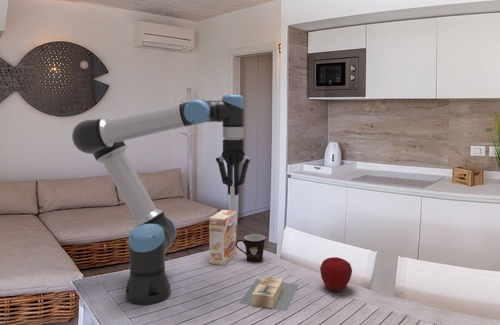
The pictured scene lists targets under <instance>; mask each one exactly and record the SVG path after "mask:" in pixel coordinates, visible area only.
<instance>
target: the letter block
mask: <svg viewBox="0 0 500 325" xmlns="http://www.w3.org/2000/svg"><path fill="white" fill-rule="evenodd" d="M260 280H261V281H260V283H259V284H258V286H257V287H256V289H255V290H254V291H253V293H252V305H251V306H255V307H261V308H266V309H272V310H274V309H273V307H274V305H275V304H276V302H277V300H278V298H279V296H280V295H281V293H282V291H283V283H284V279H282V278H275V277H268V276H263V277H262V279H260Z"/></svg>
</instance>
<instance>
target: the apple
mask: <svg viewBox="0 0 500 325" xmlns="http://www.w3.org/2000/svg"><path fill="white" fill-rule="evenodd" d="M319 270H320V276H321V280H322V281H323V284H324V286H326V287H327V288H328V289H329V290H331V291H333V292H334V291H335V292H340V291H342V290H344V289H346V288H347V286H348V284H349V282H350V280H351V279H352V278H351V277H352V274H353V270H352V266H351V263H350V262H348V261H347V260H345V259H344V258H341V257H338V256H336V257H335V256H334V257H327V258H325V259H324V260H323V261H322V263H321V264H320V268H319Z"/></svg>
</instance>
